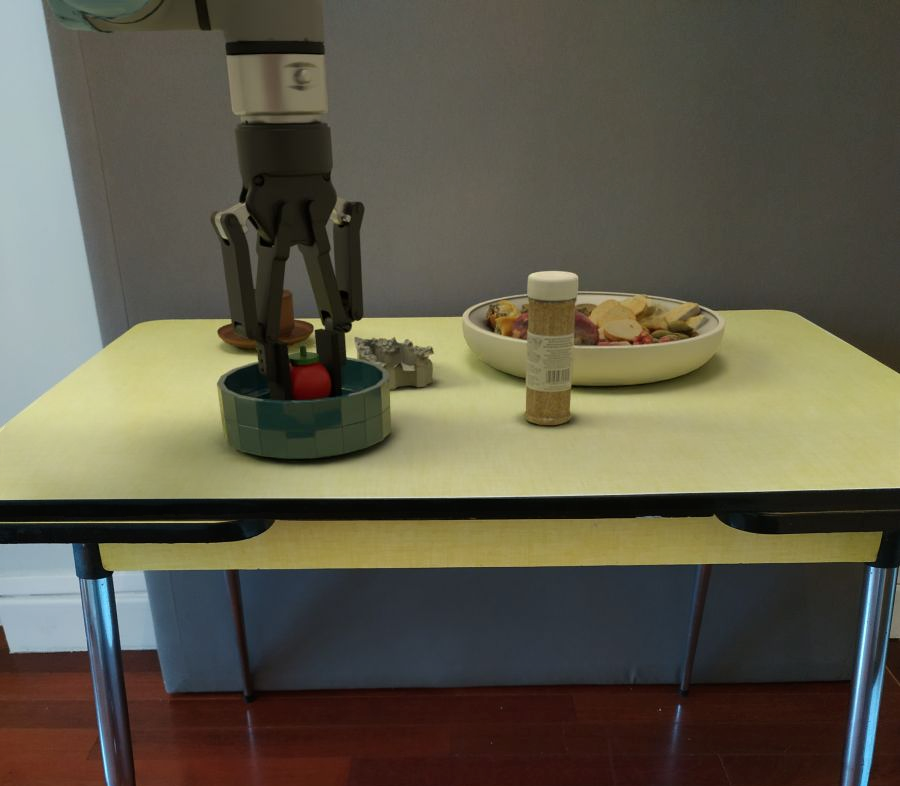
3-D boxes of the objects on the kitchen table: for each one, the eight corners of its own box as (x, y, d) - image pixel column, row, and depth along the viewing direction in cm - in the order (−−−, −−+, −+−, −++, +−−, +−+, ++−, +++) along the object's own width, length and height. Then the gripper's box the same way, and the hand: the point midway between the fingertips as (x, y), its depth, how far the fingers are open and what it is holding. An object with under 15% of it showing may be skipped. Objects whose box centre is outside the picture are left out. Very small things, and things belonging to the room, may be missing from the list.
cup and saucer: (214, 337, 119) (208, 288, 116) (305, 330, 122) (301, 282, 119) (224, 359, 109) (217, 306, 106) (323, 351, 112) (319, 299, 109)
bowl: (494, 324, 124) (495, 263, 120) (722, 337, 117) (730, 273, 113) (431, 384, 99) (429, 309, 95) (715, 404, 92) (727, 325, 88)
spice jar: (566, 411, 90) (574, 269, 83) (574, 426, 86) (582, 278, 79) (520, 412, 90) (525, 269, 83) (525, 427, 86) (530, 278, 79)
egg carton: (437, 387, 98) (437, 349, 96) (368, 393, 96) (366, 354, 94) (416, 362, 107) (416, 326, 105) (353, 366, 105) (351, 331, 103)
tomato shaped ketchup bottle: (299, 422, 80) (293, 354, 77) (273, 410, 83) (266, 344, 80) (343, 412, 83) (338, 345, 80) (315, 401, 86) (310, 336, 83)
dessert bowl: (279, 478, 75) (273, 413, 72) (196, 433, 85) (188, 374, 82) (424, 438, 83) (423, 379, 81) (333, 401, 94) (329, 347, 91)
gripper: (201, 123, 64) (241, 439, 76) (399, 117, 74) (408, 398, 85) (156, 121, 69) (200, 418, 81) (347, 116, 79) (363, 382, 90)
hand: (307, 407), depth 83 cm, fingers closed on tomato shaped ketchup bottle, 4 cm apart
